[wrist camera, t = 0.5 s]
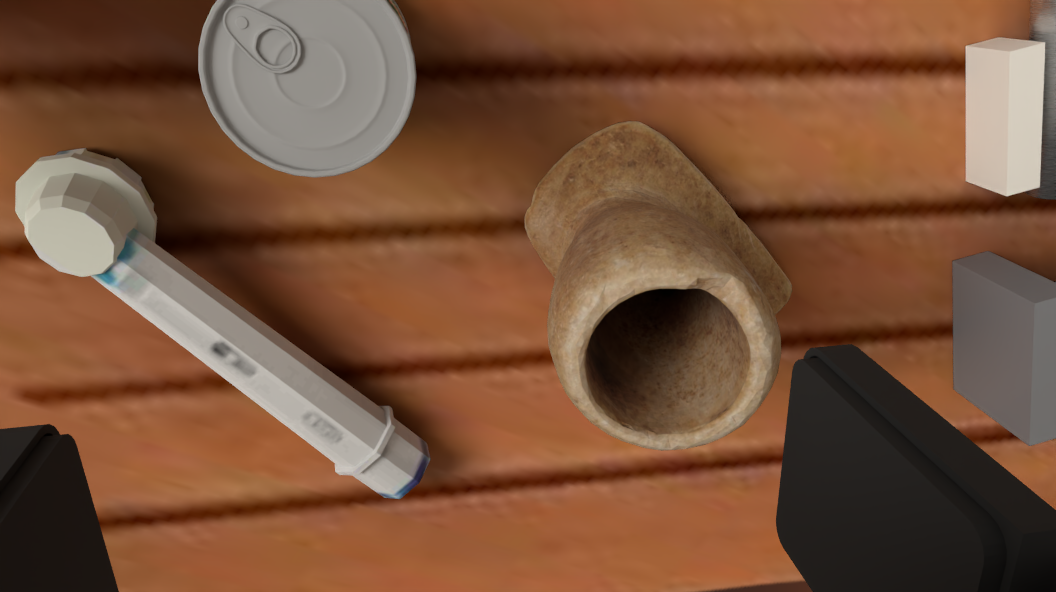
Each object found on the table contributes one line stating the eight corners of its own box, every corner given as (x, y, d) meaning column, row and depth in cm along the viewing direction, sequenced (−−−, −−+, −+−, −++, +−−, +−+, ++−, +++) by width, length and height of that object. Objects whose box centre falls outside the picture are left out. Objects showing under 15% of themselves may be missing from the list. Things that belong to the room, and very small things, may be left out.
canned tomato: (442, 35, 41) (459, 57, 30) (351, 158, 42) (339, 217, 32) (307, -76, 38) (276, -92, 28) (215, 61, 39) (154, 92, 29)
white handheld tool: (376, 522, 46) (-44, 244, 34) (368, 450, 52) (6, 189, 40) (443, 466, 46) (39, 161, 33) (428, 399, 51) (78, 117, 39)
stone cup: (467, 234, 45) (500, 351, 31) (629, 85, 43) (741, 140, 29) (632, 400, 50) (722, 561, 37) (781, 274, 49) (934, 394, 35)
